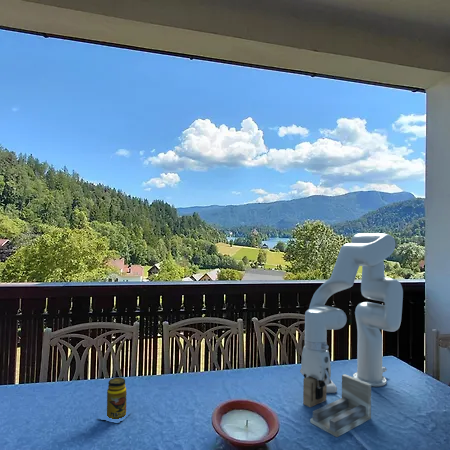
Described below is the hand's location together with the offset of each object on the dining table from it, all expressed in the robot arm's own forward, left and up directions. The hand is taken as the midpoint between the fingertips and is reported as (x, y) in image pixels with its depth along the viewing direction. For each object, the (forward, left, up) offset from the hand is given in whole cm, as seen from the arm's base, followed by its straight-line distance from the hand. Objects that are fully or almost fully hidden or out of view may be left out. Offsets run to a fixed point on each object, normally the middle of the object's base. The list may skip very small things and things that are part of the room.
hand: (314, 395), depth 130 cm
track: (+3, +13, -2) cm, 14 cm away
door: (0, 0, -2) cm, 2 cm away
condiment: (+61, -32, -3) cm, 69 cm away
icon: (-12, -7, -3) cm, 14 cm away
